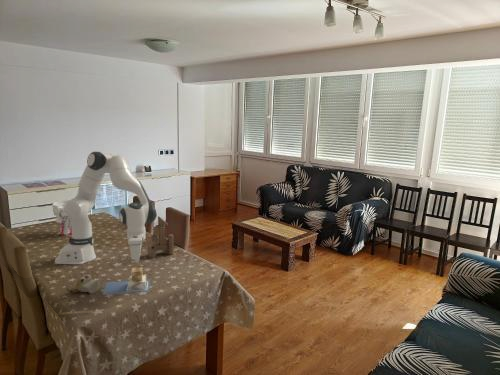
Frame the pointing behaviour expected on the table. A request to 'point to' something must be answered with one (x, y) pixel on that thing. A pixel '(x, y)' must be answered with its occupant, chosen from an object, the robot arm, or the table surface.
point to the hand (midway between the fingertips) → (137, 261)
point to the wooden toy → (160, 240)
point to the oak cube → (137, 274)
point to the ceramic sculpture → (85, 285)
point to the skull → (62, 217)
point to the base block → (137, 284)
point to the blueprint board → (122, 288)
